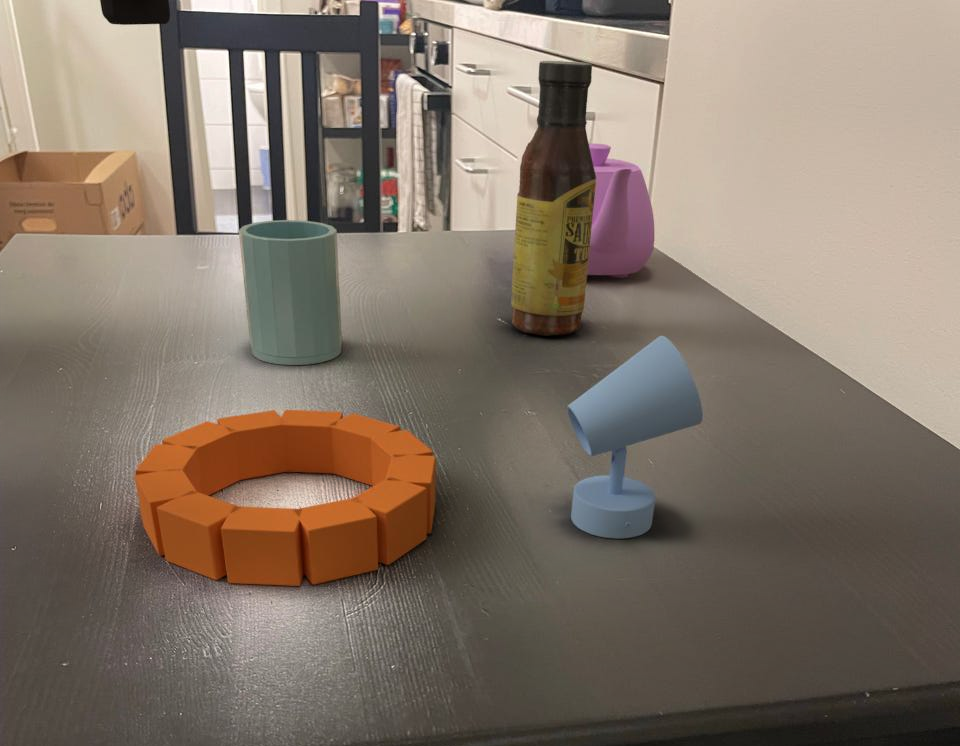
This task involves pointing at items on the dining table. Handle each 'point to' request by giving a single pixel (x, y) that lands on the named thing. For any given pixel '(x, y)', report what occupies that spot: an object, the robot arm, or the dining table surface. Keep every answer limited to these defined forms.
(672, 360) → the spotlight
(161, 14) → the robot arm
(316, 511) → the ring
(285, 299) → the teal cup
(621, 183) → the teapot
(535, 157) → the sauce bottle
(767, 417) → the dining table surface
